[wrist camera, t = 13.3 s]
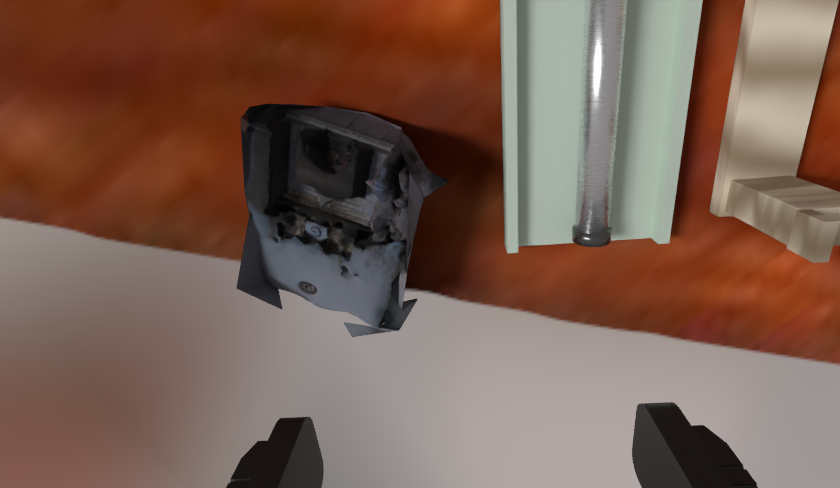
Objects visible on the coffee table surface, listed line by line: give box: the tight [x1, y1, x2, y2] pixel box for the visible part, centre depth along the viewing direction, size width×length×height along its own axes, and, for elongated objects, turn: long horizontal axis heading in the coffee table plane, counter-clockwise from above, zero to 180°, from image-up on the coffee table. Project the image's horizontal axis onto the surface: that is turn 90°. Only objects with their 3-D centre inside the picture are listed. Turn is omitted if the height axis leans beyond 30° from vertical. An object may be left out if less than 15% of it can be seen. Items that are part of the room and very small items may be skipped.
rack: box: [709, 0, 840, 263], centre depth 31 cm, size 26×6×12 cm, turn 5°
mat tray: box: [500, 0, 703, 253], centre depth 37 cm, size 30×15×2 cm, turn 5°
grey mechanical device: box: [237, 104, 449, 337], centre depth 40 cm, size 18×20×9 cm
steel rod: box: [572, 0, 627, 247], centre depth 36 cm, size 28×3×3 cm, turn 5°
